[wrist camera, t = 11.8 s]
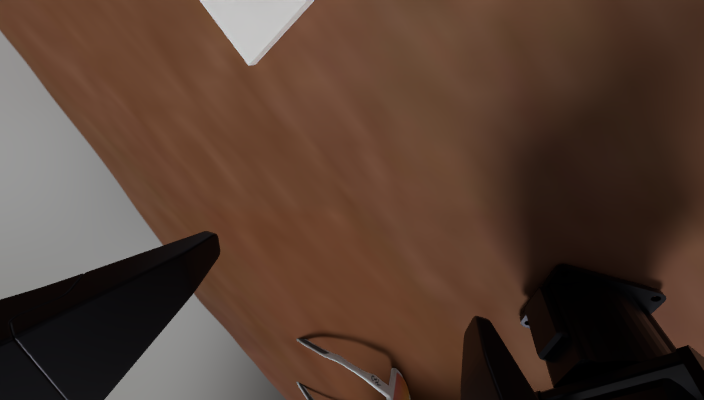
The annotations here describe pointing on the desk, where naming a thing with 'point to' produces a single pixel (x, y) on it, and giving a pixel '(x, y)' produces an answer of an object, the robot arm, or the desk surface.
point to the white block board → (255, 22)
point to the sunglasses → (364, 376)
